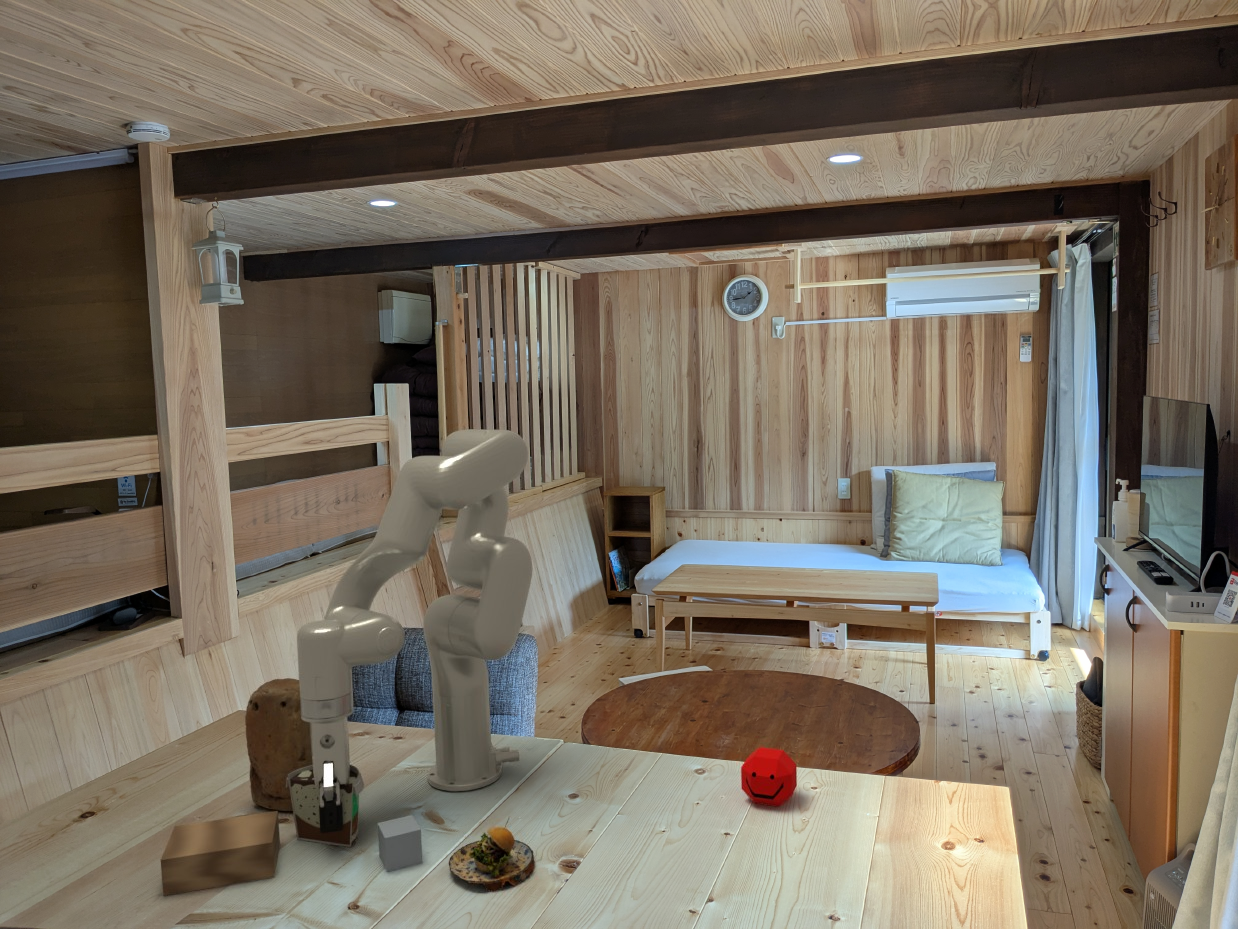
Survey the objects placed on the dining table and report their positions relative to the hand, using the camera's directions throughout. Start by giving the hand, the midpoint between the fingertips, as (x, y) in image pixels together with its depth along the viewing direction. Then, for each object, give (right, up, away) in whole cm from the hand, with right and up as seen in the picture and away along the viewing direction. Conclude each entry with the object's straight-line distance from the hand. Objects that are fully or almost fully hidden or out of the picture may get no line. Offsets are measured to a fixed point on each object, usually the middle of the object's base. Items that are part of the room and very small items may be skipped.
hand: (332, 817), depth 137 cm
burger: (+26, -3, -11) cm, 28 cm away
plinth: (-13, -4, -8) cm, 16 cm away
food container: (0, -3, +1) cm, 3 cm away
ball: (+67, 0, +7) cm, 67 cm away
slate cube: (+12, -3, -7) cm, 15 cm away
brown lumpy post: (-11, -2, +12) cm, 16 cm away
